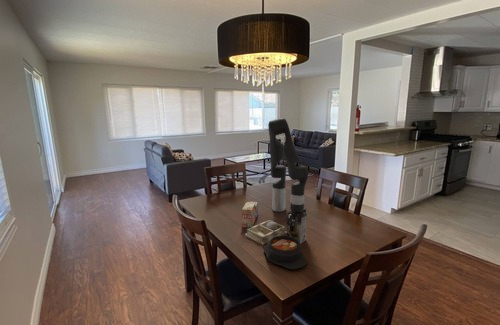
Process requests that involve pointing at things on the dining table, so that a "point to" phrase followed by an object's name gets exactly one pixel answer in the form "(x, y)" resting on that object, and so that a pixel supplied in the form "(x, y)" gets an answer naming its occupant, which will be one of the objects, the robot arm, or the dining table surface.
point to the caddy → (265, 231)
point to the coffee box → (298, 227)
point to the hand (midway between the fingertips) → (296, 229)
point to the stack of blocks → (249, 214)
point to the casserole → (285, 252)
